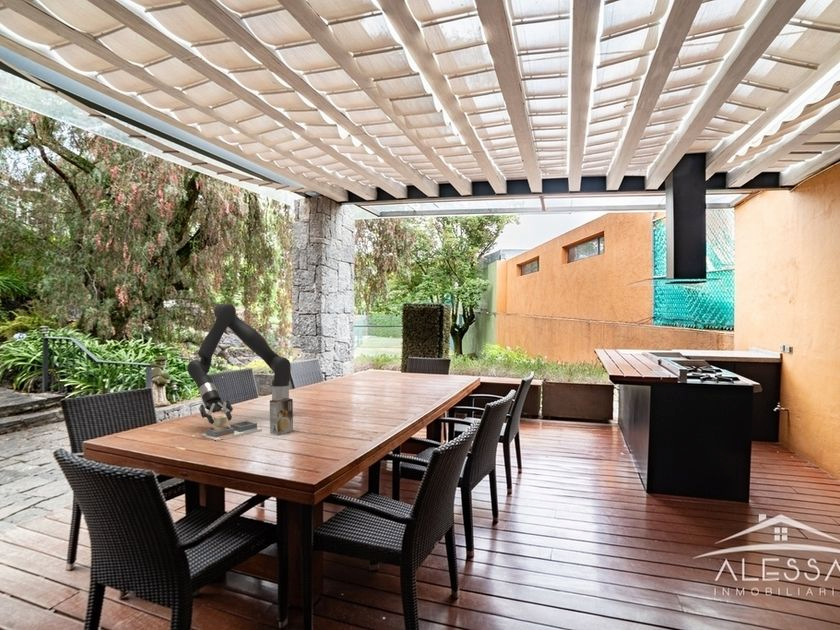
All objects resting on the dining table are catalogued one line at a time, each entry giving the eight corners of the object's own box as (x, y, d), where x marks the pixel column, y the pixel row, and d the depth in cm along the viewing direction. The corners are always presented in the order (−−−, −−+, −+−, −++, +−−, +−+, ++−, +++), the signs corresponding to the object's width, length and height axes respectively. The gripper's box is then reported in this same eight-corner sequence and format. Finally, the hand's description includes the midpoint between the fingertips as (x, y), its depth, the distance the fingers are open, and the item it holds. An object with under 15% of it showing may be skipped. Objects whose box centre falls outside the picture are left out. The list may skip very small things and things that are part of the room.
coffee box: (285, 429, 226) (285, 397, 226) (293, 431, 222) (293, 398, 222) (269, 433, 218) (269, 400, 218) (277, 435, 215) (277, 401, 214)
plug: (222, 432, 217) (222, 415, 217) (227, 433, 214) (227, 416, 214) (213, 434, 213) (213, 417, 213) (218, 435, 211) (218, 418, 210)
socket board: (246, 426, 232) (246, 419, 232) (261, 430, 223) (261, 423, 223) (201, 436, 214) (201, 428, 214) (216, 441, 205) (216, 433, 205)
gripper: (197, 391, 212) (209, 419, 205) (226, 387, 224) (238, 413, 217) (192, 401, 216) (203, 429, 209) (220, 396, 227) (233, 423, 220)
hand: (221, 421), depth 213 cm, fingers open, 8 cm apart
